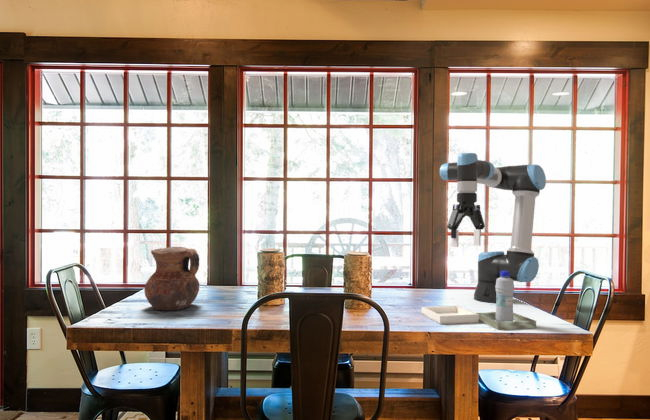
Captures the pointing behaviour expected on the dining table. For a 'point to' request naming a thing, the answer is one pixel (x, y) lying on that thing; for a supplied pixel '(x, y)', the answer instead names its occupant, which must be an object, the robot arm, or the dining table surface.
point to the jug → (173, 278)
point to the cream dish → (450, 314)
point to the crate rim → (517, 324)
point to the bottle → (504, 297)
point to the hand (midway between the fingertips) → (466, 246)
